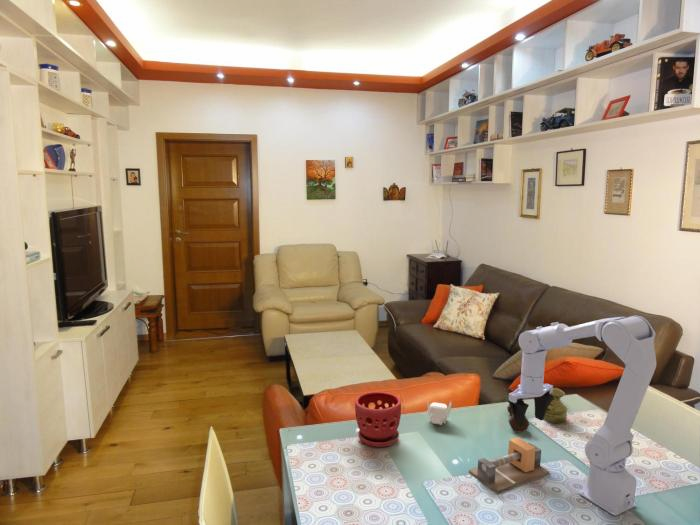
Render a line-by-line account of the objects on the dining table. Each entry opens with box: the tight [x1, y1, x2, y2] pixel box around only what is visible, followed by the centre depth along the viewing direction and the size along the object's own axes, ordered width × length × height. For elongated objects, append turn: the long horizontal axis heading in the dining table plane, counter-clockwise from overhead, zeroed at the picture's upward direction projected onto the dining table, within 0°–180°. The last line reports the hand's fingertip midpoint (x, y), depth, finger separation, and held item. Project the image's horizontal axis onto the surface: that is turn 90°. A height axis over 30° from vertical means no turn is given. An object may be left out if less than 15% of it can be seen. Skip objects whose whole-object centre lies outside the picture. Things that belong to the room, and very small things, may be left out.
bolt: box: [506, 403, 530, 433], centre depth 157 cm, size 6×5×15 cm
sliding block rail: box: [468, 442, 551, 494], centre depth 128 cm, size 10×18×5 cm, turn 119°
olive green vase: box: [543, 387, 569, 425], centre depth 157 cm, size 7×7×10 cm
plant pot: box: [354, 391, 402, 448], centre depth 143 cm, size 13×13×12 cm
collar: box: [507, 436, 536, 473], centre depth 130 cm, size 6×3×6 cm, turn 29°
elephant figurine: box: [426, 397, 453, 426], centre depth 154 cm, size 8×10×7 cm
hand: (529, 421), depth 136 cm, fingers open, 7 cm apart
